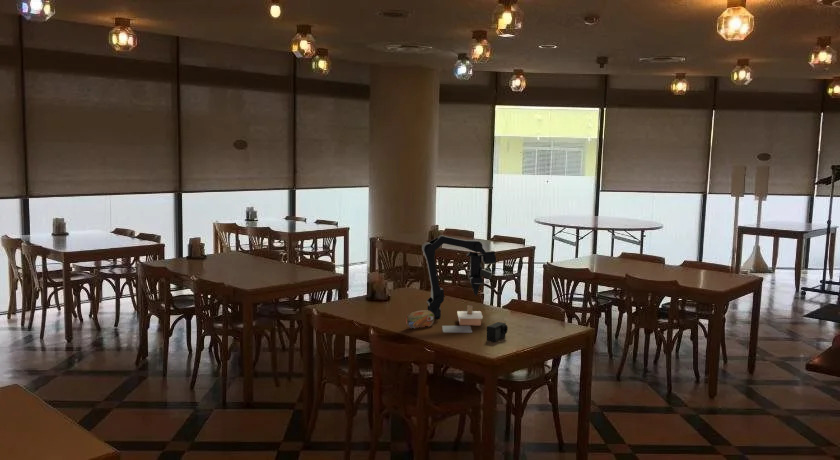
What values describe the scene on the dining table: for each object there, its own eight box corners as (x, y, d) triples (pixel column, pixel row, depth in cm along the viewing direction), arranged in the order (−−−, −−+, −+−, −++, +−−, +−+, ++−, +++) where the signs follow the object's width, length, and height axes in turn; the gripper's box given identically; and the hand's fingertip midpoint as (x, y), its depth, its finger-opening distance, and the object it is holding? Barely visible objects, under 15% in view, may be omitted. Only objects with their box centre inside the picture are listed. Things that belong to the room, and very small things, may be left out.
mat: (442, 333, 342) (442, 332, 342) (442, 326, 355) (442, 325, 355) (472, 333, 342) (472, 332, 342) (470, 326, 355) (470, 325, 355)
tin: (407, 330, 348) (407, 313, 347) (404, 328, 351) (404, 311, 350) (434, 326, 355) (434, 309, 354) (431, 325, 357) (431, 308, 357)
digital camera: (496, 342, 325) (497, 327, 324) (486, 341, 328) (486, 326, 327) (507, 338, 334) (508, 323, 333) (497, 336, 337) (497, 321, 336)
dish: (459, 326, 355) (459, 318, 355) (458, 321, 366) (458, 313, 365) (480, 326, 355) (480, 318, 355) (479, 321, 366) (479, 313, 365)
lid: (458, 318, 354) (458, 308, 354) (457, 313, 366) (457, 303, 366) (482, 318, 354) (482, 308, 354) (480, 313, 366) (480, 303, 366)
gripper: (492, 267, 364) (492, 297, 366) (489, 261, 383) (489, 290, 384) (471, 267, 364) (470, 297, 366) (468, 261, 383) (468, 290, 384)
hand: (475, 293), depth 375 cm, fingers open, 9 cm apart
